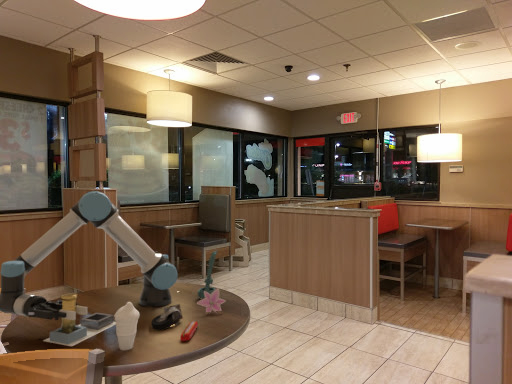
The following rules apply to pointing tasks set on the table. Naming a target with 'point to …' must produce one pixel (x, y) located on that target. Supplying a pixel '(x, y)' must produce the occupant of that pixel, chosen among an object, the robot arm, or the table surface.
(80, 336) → the collar
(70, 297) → the brass peg
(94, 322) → the frame
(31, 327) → the table surface
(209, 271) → the dark curved piece
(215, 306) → the lily
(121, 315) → the soft serve ice cream cone
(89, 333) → the mounting plate
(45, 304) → the robot arm
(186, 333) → the candy bar
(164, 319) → the caster wheel
